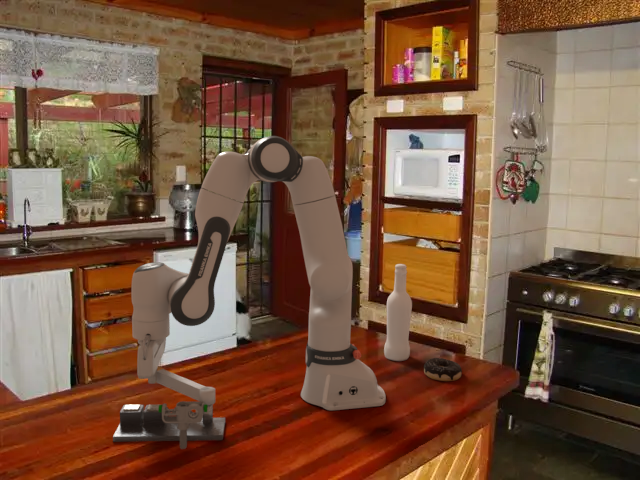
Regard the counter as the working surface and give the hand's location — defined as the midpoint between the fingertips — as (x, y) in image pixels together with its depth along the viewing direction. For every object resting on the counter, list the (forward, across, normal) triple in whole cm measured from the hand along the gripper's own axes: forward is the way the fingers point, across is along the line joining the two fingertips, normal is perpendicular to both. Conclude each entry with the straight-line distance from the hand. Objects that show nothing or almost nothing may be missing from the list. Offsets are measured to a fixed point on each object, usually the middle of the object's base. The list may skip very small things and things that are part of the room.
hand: (152, 382), depth 154 cm
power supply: (+5, -11, -2) cm, 12 cm away
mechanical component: (+7, -21, -10) cm, 24 cm away
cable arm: (+1, -4, -8) cm, 9 cm away
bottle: (+7, +35, -70) cm, 79 cm away
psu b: (+5, -11, +3) cm, 12 cm away
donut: (+8, +20, -80) cm, 83 cm away
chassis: (+7, -14, -6) cm, 16 cm away
